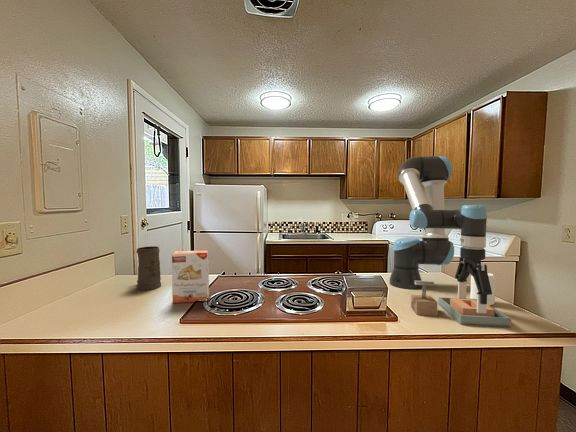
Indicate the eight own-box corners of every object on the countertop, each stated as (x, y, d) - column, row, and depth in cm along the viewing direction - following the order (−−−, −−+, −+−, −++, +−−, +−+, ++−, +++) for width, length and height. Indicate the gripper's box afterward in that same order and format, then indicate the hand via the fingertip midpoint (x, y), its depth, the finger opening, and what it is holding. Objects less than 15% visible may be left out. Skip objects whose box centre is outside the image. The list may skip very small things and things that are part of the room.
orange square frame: (449, 307, 105) (450, 298, 105) (480, 308, 103) (481, 299, 103) (462, 318, 95) (463, 308, 95) (497, 319, 94) (497, 309, 93)
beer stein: (166, 285, 135) (164, 245, 135) (145, 291, 126) (143, 248, 126) (149, 283, 143) (146, 245, 143) (128, 288, 134) (125, 248, 134)
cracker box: (172, 304, 111) (171, 253, 110) (175, 299, 117) (174, 250, 116) (207, 301, 113) (206, 252, 112) (209, 297, 119) (208, 249, 118)
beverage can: (498, 306, 107) (499, 276, 106) (475, 305, 108) (476, 275, 108) (488, 299, 115) (488, 271, 114) (466, 298, 116) (467, 270, 116)
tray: (438, 304, 109) (438, 297, 109) (479, 306, 107) (479, 299, 107) (460, 324, 91) (460, 315, 91) (510, 327, 89) (510, 318, 89)
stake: (410, 307, 107) (411, 278, 106) (429, 308, 106) (430, 279, 105) (416, 314, 100) (417, 283, 99) (437, 315, 99) (437, 284, 98)
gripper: (446, 242, 111) (445, 293, 112) (480, 253, 86) (478, 319, 87) (466, 242, 110) (465, 294, 111) (506, 254, 85) (504, 320, 86)
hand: (471, 305), depth 99 cm, fingers open, 13 cm apart
